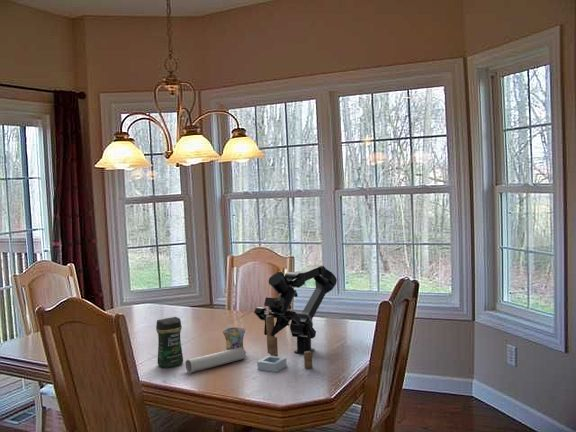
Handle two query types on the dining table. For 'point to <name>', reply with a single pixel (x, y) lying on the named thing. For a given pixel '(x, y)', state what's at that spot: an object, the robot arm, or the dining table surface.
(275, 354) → the medium walnut dowel
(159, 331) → the coffee jar
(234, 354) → the tube
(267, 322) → the long walnut dowel
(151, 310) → the dining table surface
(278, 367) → the slate collar block
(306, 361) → the short walnut dowel
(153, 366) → the dining table surface
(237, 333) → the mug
